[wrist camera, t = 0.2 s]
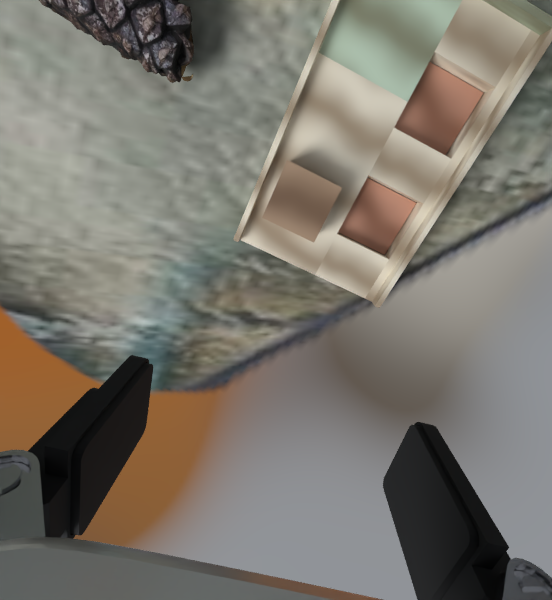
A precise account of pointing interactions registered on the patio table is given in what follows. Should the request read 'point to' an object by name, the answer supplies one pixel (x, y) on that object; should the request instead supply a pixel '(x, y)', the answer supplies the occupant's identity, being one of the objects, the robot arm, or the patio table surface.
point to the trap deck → (393, 126)
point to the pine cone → (137, 30)
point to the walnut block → (301, 201)
